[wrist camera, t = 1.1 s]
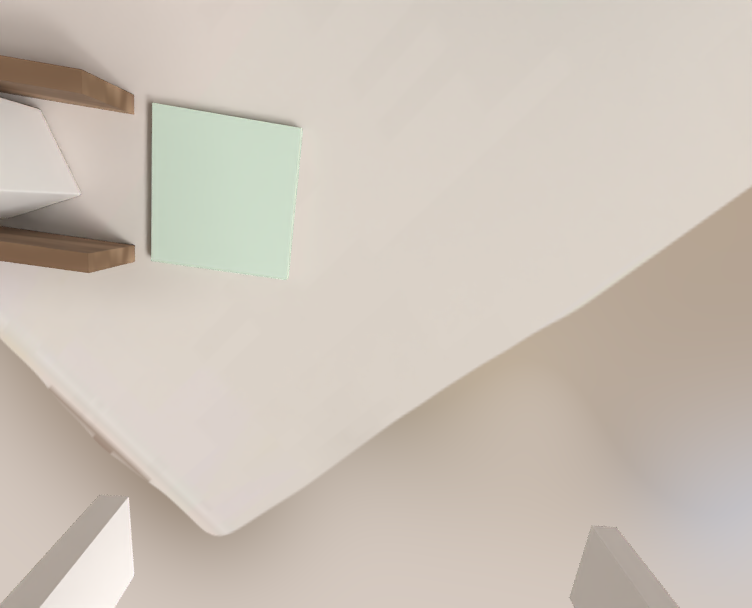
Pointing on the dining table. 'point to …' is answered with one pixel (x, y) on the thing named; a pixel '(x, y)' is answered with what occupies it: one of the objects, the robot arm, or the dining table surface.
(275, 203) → the pad
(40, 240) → the channel
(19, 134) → the milk carton
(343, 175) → the dining table surface
